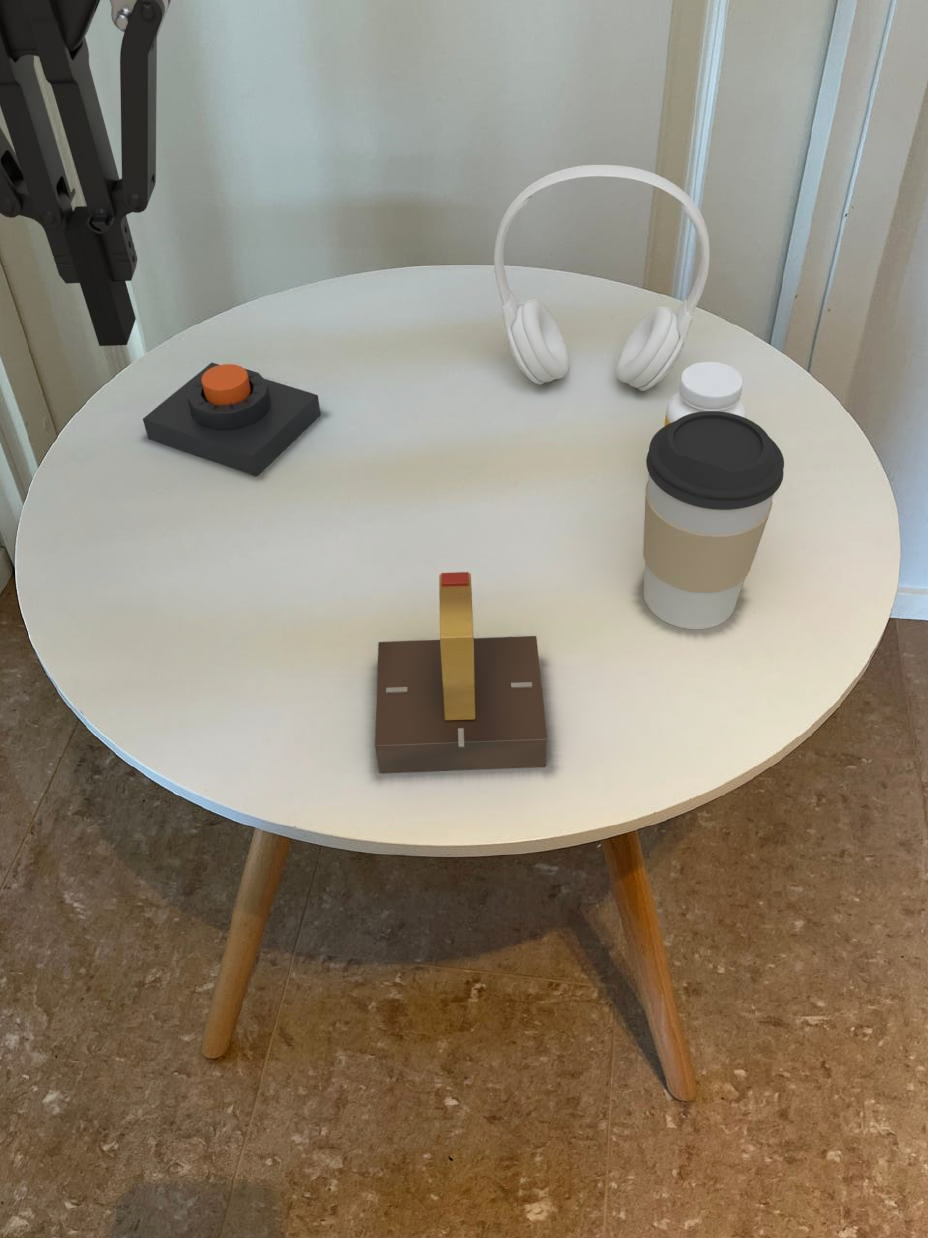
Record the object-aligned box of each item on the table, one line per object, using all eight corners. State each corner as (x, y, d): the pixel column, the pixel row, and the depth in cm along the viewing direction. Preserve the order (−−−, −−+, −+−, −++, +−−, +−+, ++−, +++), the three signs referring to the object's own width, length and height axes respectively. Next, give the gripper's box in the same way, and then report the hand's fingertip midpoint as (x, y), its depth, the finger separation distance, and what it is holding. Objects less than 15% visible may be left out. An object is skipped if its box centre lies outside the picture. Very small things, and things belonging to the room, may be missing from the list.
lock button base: (148, 438, 95) (137, 401, 92) (216, 381, 101) (207, 345, 98) (256, 476, 91) (248, 439, 88) (321, 414, 97) (315, 377, 94)
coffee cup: (658, 541, 84) (682, 381, 73) (767, 580, 81) (810, 419, 70) (609, 612, 79) (627, 451, 68) (723, 657, 76) (762, 496, 65)
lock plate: (378, 778, 69) (374, 749, 67) (381, 666, 76) (378, 636, 74) (546, 771, 69) (548, 742, 67) (534, 660, 76) (536, 630, 74)
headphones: (690, 408, 96) (724, 193, 82) (490, 396, 98) (489, 184, 84) (689, 364, 101) (721, 154, 87) (499, 354, 103) (499, 147, 89)
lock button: (196, 399, 93) (191, 382, 92) (223, 376, 95) (219, 359, 94) (232, 411, 91) (229, 394, 90) (259, 387, 94) (256, 370, 93)
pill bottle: (690, 457, 91) (708, 346, 83) (746, 492, 88) (771, 379, 80) (640, 488, 89) (654, 376, 81) (696, 525, 85) (717, 411, 77)
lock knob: (475, 720, 68) (473, 634, 62) (444, 721, 68) (439, 635, 62) (473, 656, 72) (470, 569, 66) (443, 657, 72) (438, 570, 66)
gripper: (144, -230, 43) (244, 292, 61) (-173, -220, 43) (16, 300, 61) (108, -195, 38) (228, 365, 55) (-252, -182, 38) (-21, 375, 55)
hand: (117, 331), depth 58 cm, fingers closed
